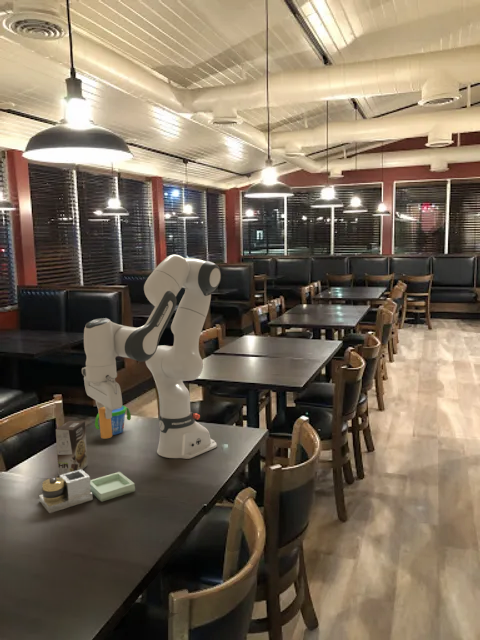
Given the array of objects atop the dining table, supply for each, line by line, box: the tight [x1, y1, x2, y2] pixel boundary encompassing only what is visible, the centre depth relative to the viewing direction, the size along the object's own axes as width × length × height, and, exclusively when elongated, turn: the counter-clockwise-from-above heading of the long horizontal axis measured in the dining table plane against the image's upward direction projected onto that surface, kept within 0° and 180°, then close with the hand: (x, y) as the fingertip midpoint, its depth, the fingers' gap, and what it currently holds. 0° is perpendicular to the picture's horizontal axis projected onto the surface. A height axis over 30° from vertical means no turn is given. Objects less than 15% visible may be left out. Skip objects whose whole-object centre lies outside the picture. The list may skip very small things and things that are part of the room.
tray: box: [90, 471, 136, 502], centre depth 167 cm, size 11×11×2 cm
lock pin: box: [97, 407, 113, 440], centre depth 164 cm, size 4×4×9 cm
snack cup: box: [94, 404, 132, 436], centre depth 217 cm, size 16×10×10 cm
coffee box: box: [55, 420, 88, 476], centre depth 181 cm, size 9×6×16 cm
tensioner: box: [38, 469, 94, 514], centre depth 160 cm, size 13×9×8 cm
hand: (105, 416), depth 164 cm, fingers closed on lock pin, 3 cm apart
